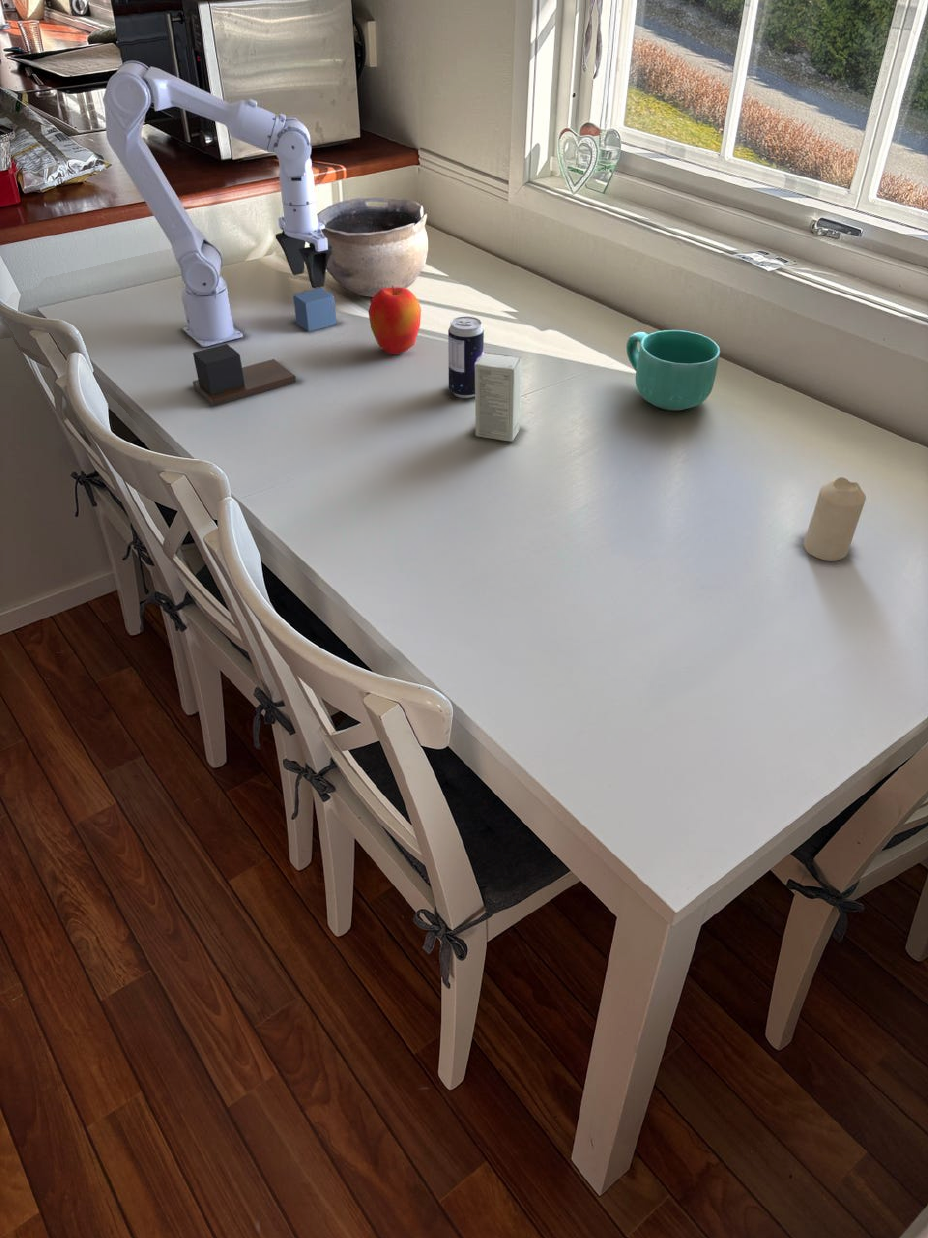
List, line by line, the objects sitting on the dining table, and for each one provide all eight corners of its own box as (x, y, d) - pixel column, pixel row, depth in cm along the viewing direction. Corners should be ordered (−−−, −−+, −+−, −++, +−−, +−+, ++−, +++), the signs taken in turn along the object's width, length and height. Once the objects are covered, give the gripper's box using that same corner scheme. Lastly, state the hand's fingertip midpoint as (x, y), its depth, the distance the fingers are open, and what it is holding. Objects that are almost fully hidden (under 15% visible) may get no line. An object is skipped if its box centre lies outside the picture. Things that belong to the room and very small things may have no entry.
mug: (726, 406, 150) (737, 351, 144) (669, 426, 145) (678, 370, 139) (657, 368, 161) (664, 315, 155) (601, 386, 156) (607, 332, 149)
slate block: (308, 331, 172) (305, 302, 168) (296, 322, 175) (292, 294, 171) (336, 324, 175) (334, 295, 171) (323, 315, 178) (321, 287, 174)
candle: (797, 537, 123) (816, 472, 116) (837, 535, 123) (858, 471, 117) (812, 562, 119) (833, 497, 112) (854, 560, 119) (877, 495, 112)
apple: (391, 367, 161) (388, 299, 153) (360, 350, 166) (355, 283, 158) (432, 351, 166) (431, 285, 158) (401, 336, 171) (398, 270, 163)
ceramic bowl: (426, 311, 179) (424, 231, 169) (315, 310, 179) (306, 231, 170) (431, 270, 196) (429, 195, 186) (329, 269, 196) (322, 194, 186)
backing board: (193, 387, 155) (192, 381, 154) (274, 365, 161) (273, 358, 161) (213, 406, 150) (212, 399, 149) (295, 382, 156) (295, 375, 156)
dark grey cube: (198, 383, 153) (192, 352, 150) (232, 374, 156) (226, 343, 152) (211, 395, 150) (205, 363, 147) (245, 385, 153) (239, 354, 149)
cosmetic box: (520, 429, 144) (523, 356, 136) (512, 443, 141) (515, 369, 133) (482, 423, 146) (483, 350, 138) (473, 436, 143) (474, 362, 135)
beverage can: (479, 401, 151) (480, 331, 144) (445, 398, 152) (444, 328, 144) (485, 385, 156) (487, 316, 148) (452, 382, 156) (452, 313, 149)
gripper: (340, 207, 155) (347, 287, 163) (300, 186, 164) (308, 263, 172) (302, 215, 151) (311, 296, 160) (264, 193, 160) (274, 271, 169)
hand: (307, 280), depth 166 cm, fingers open, 7 cm apart
